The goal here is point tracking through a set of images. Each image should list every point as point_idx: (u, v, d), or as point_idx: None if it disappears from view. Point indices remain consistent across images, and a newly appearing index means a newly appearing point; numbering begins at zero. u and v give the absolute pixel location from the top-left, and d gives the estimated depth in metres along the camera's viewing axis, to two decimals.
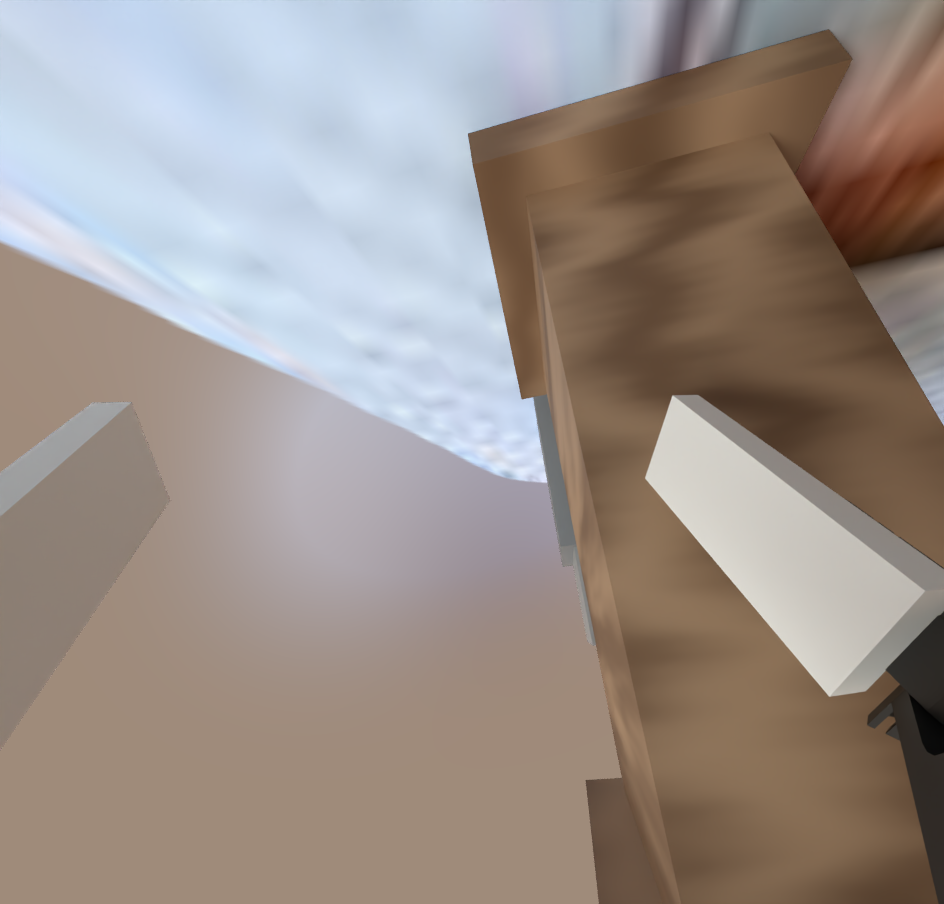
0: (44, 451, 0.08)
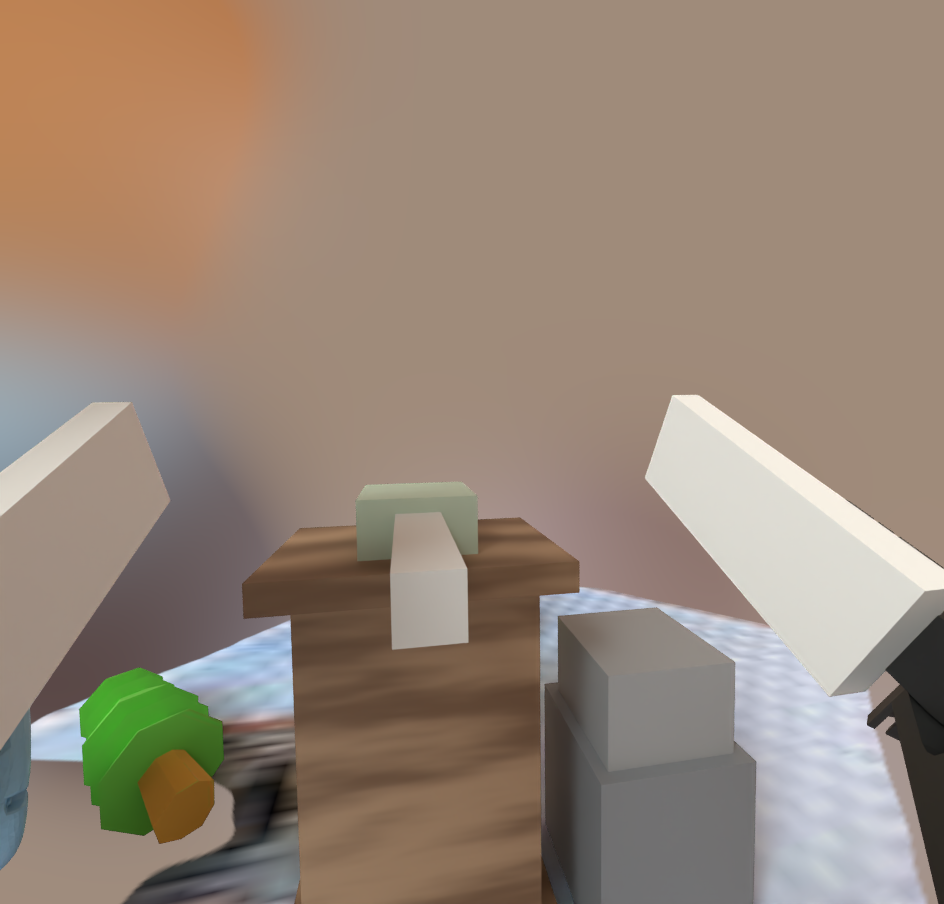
0: (44, 451, 0.08)
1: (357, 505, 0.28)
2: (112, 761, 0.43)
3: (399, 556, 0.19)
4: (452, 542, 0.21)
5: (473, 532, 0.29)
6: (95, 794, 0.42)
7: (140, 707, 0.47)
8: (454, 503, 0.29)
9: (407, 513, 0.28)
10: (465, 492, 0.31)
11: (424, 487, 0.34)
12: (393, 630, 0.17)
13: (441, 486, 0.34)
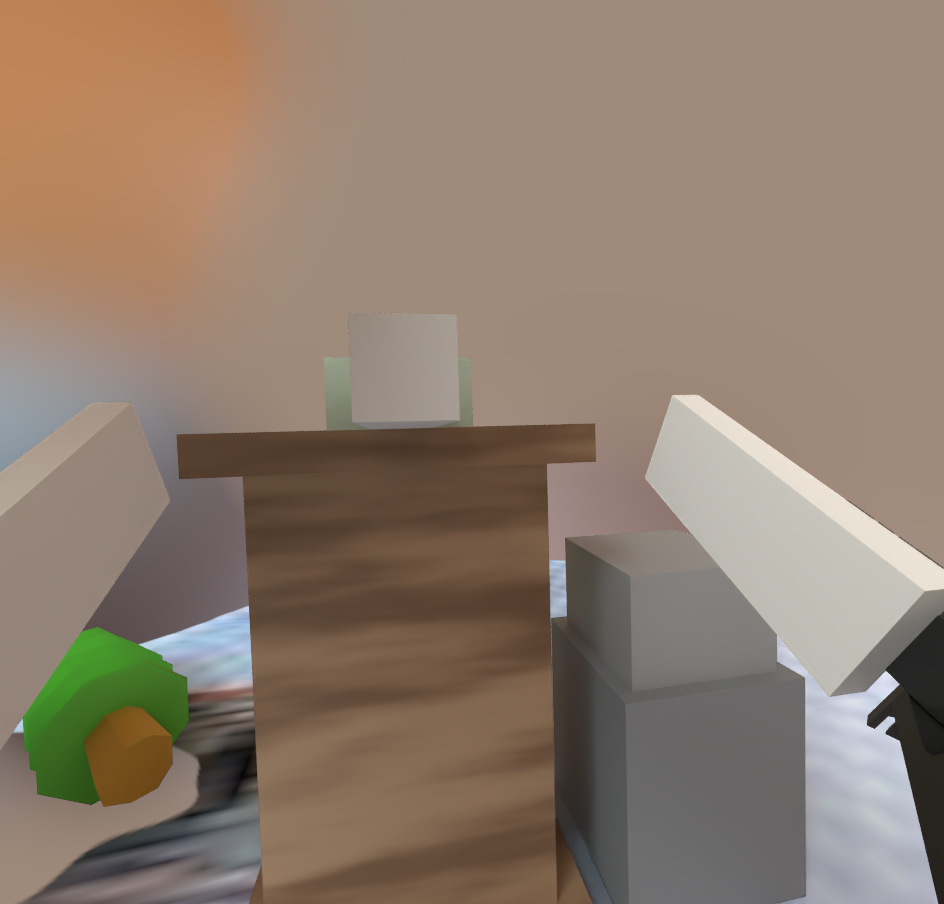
0: (44, 451, 0.08)
1: (326, 363, 0.23)
2: None
3: None
4: None
5: (467, 401, 0.25)
6: (35, 757, 0.36)
7: None
8: None
9: None
10: None
11: None
12: (353, 394, 0.12)
13: None
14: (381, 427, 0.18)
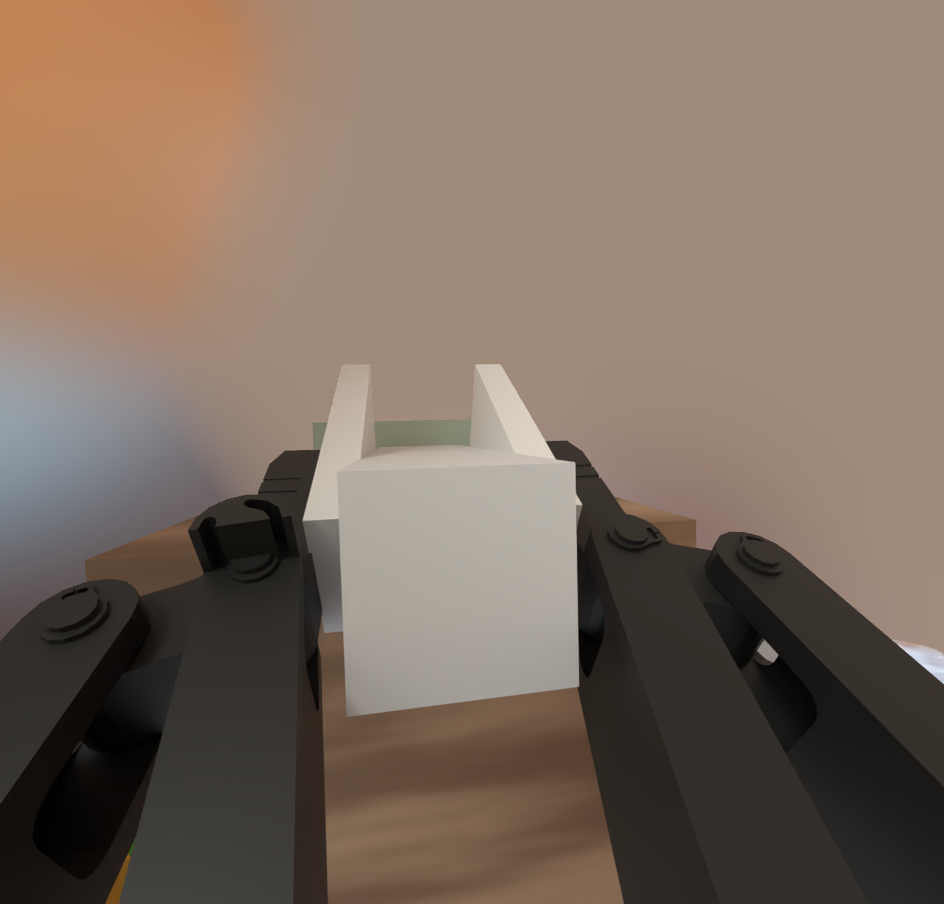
0: (346, 394, 0.10)
1: (316, 431, 0.17)
2: None
3: (375, 460, 0.07)
4: (497, 452, 0.10)
5: None
6: None
7: None
8: None
9: (401, 445, 0.17)
10: None
11: None
12: (350, 655, 0.05)
13: None
14: None
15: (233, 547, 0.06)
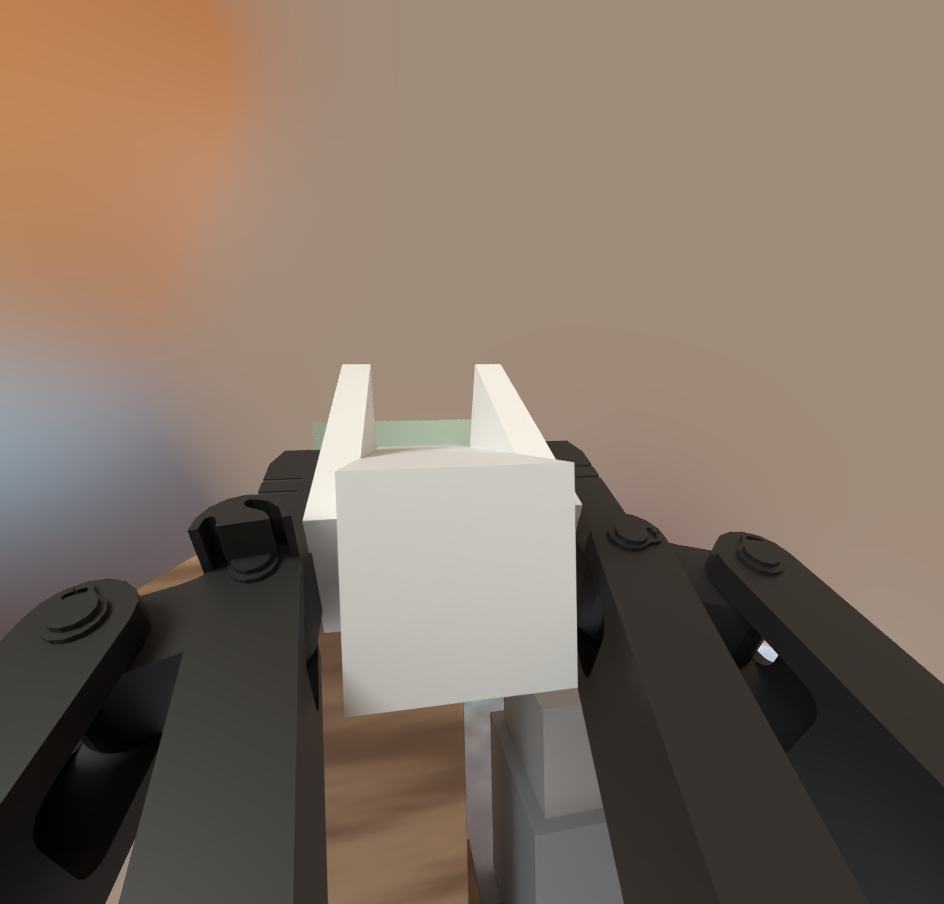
0: (346, 394, 0.10)
1: (315, 431, 0.17)
2: None
3: (374, 460, 0.07)
4: (496, 452, 0.10)
5: None
6: None
7: None
8: None
9: (400, 445, 0.17)
10: None
11: None
12: (348, 655, 0.05)
13: None
14: None
15: (234, 546, 0.06)
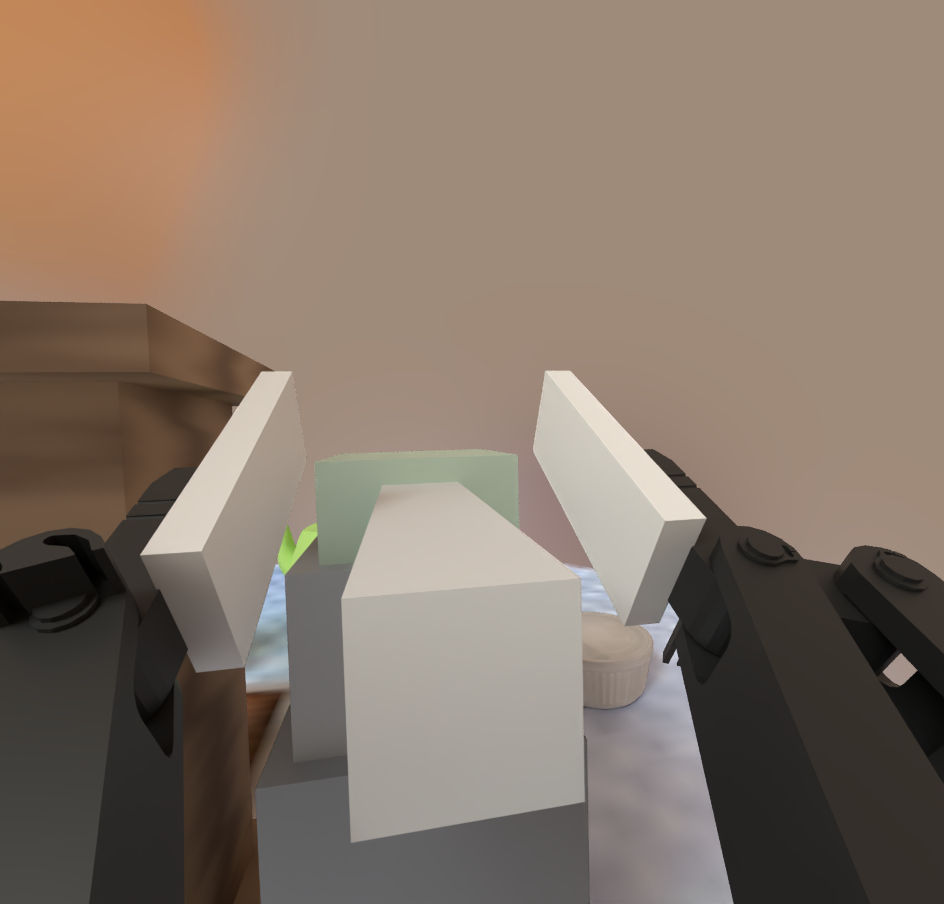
0: (252, 405, 0.10)
1: (317, 470, 0.17)
2: None
3: (379, 549, 0.07)
4: (500, 519, 0.10)
5: (512, 515, 0.18)
6: None
7: None
8: (480, 468, 0.18)
9: (402, 484, 0.17)
10: (495, 453, 0.19)
11: None
12: (354, 782, 0.05)
13: None
14: None
15: (33, 592, 0.05)
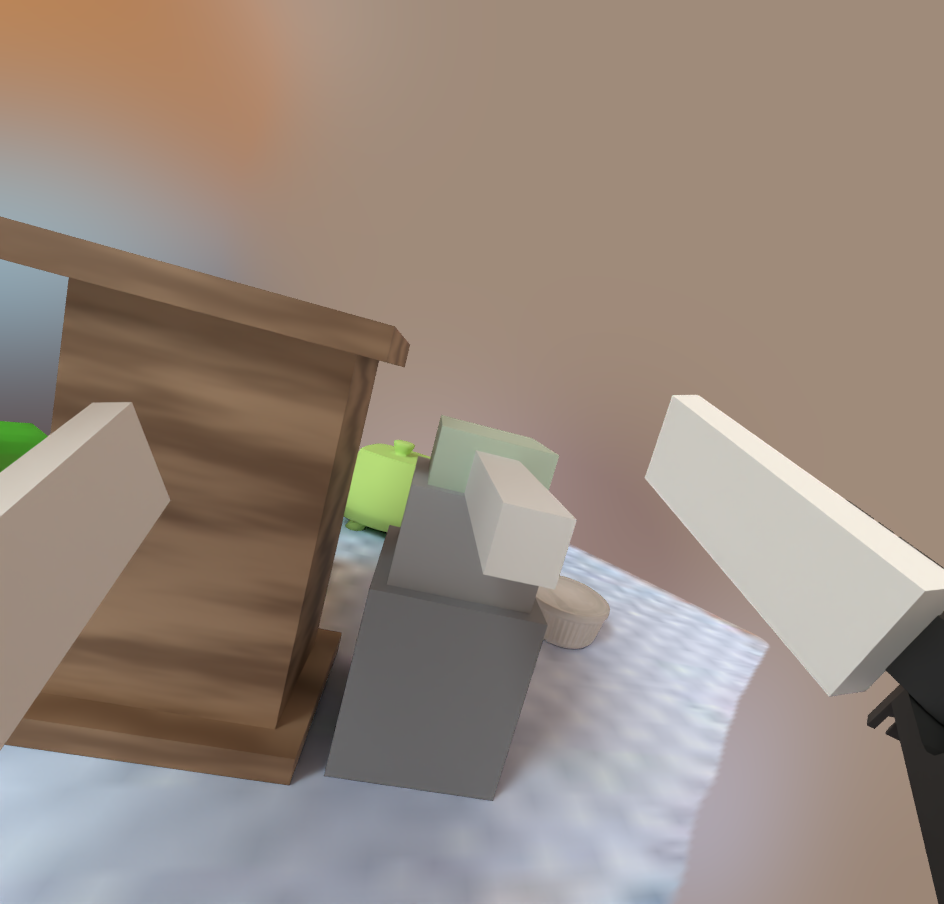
0: (44, 451, 0.08)
1: (442, 431, 0.28)
2: None
3: (503, 490, 0.19)
4: (548, 492, 0.21)
5: None
6: None
7: None
8: (534, 456, 0.29)
9: (487, 453, 0.28)
10: (544, 449, 0.30)
11: (500, 433, 0.33)
12: (490, 556, 0.17)
13: (516, 437, 0.34)
14: None
15: None
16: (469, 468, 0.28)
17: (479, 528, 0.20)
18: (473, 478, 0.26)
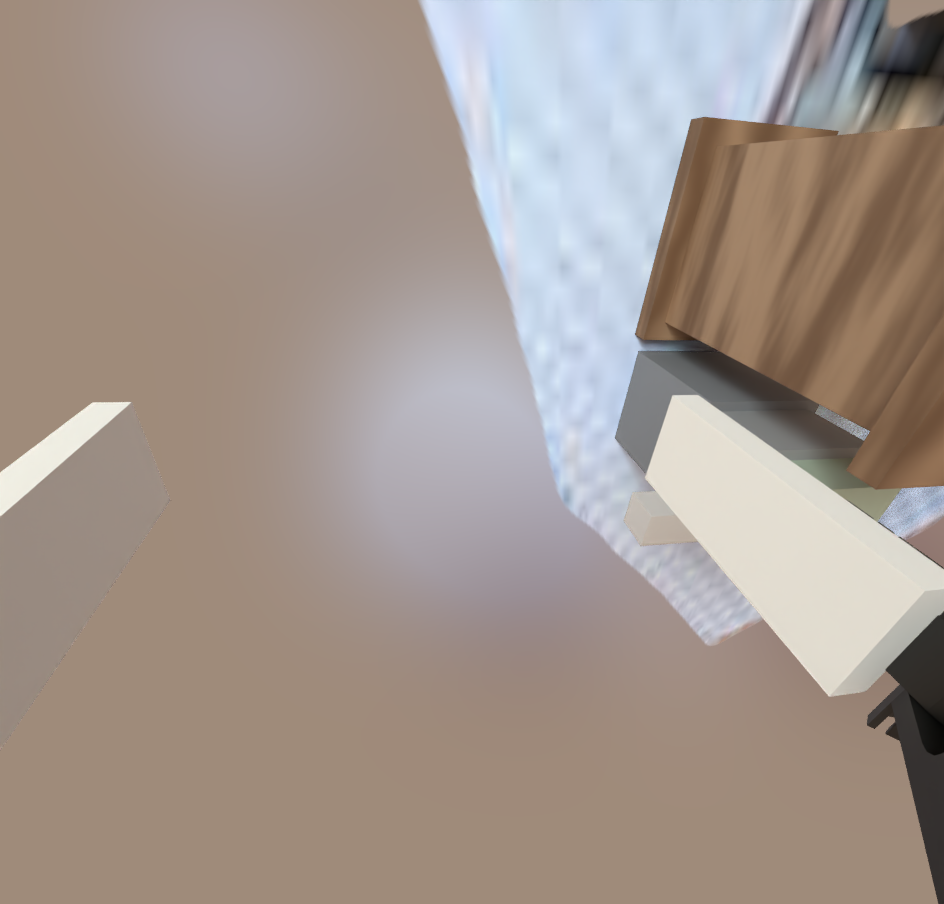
0: (44, 451, 0.08)
1: None
2: None
3: (676, 518, 0.33)
4: (687, 541, 0.35)
5: None
6: None
7: None
8: None
9: None
10: None
11: None
12: (636, 498, 0.34)
13: None
14: None
15: None
16: None
17: None
18: None
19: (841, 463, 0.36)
